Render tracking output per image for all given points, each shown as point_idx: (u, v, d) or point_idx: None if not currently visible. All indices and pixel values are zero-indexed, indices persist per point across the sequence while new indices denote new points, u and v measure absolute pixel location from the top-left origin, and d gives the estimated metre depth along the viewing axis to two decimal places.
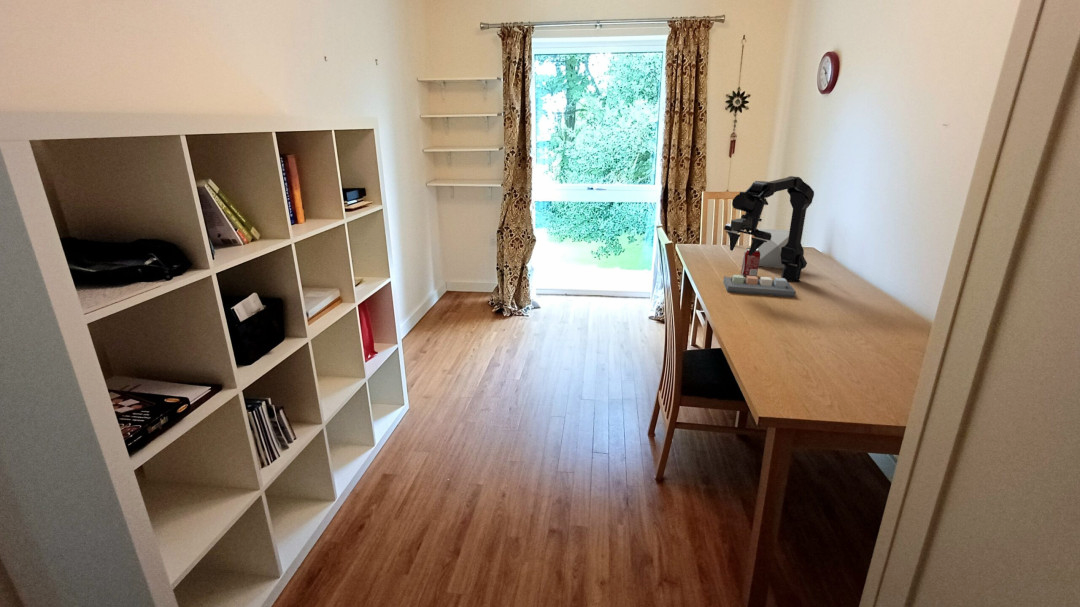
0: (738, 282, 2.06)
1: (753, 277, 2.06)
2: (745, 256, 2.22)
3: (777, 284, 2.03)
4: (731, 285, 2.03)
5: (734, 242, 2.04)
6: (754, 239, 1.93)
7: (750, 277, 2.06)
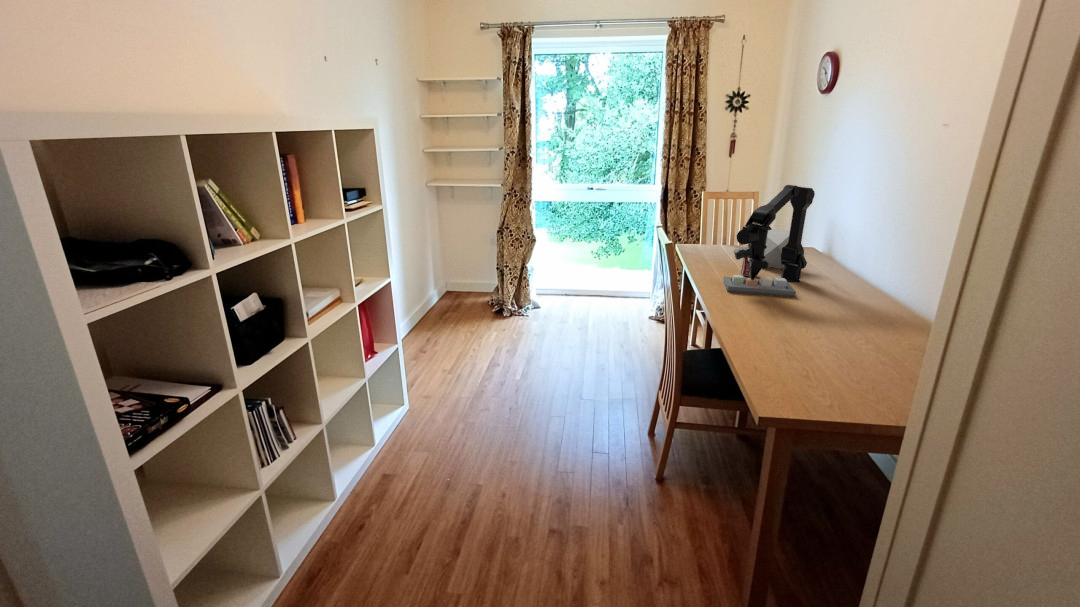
0: (738, 282, 2.06)
1: None
2: None
3: (777, 284, 2.03)
4: (731, 285, 2.03)
5: None
6: None
7: (750, 279, 2.06)
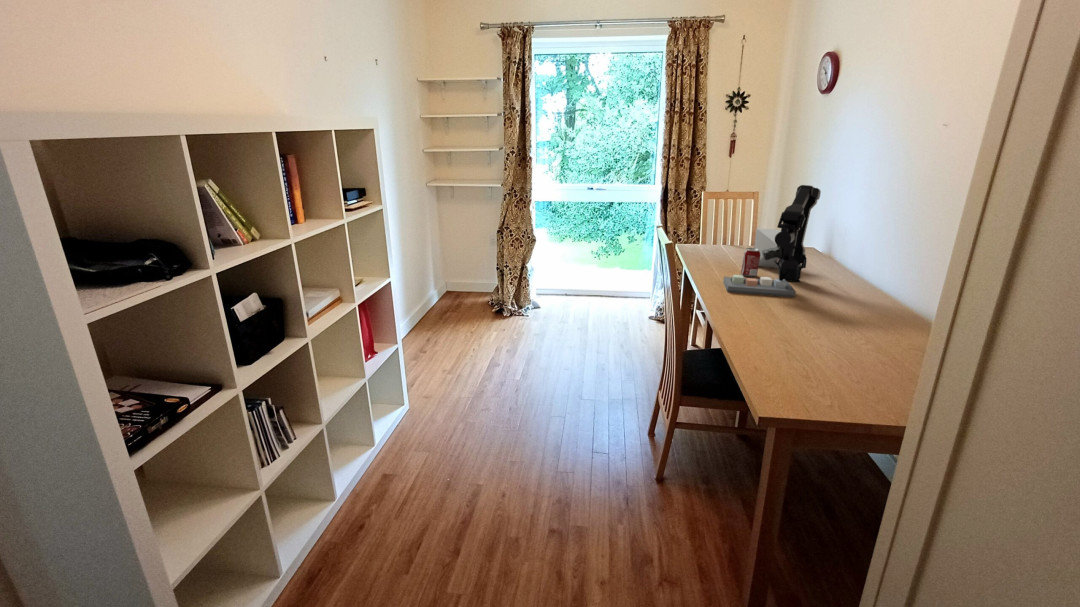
0: (738, 282, 2.06)
1: (753, 279, 2.06)
2: (745, 256, 2.22)
3: (777, 285, 2.03)
4: (731, 285, 2.03)
5: None
6: (777, 265, 2.01)
7: (750, 279, 2.06)
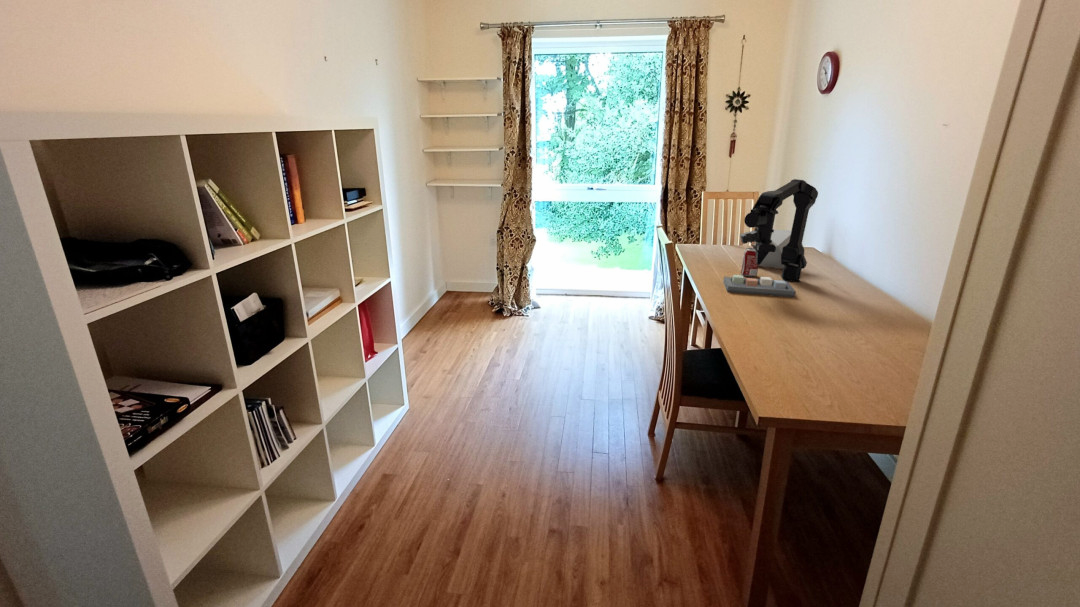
0: (738, 282, 2.06)
1: (753, 279, 2.06)
2: (745, 256, 2.22)
3: (777, 286, 2.04)
4: (731, 285, 2.03)
5: None
6: (755, 249, 2.00)
7: (750, 279, 2.06)
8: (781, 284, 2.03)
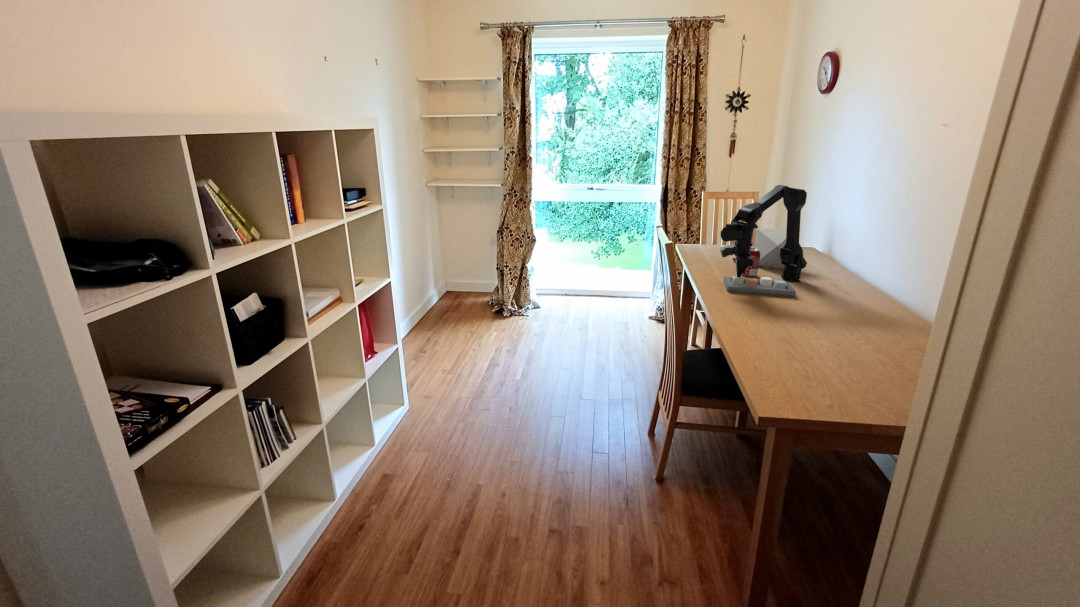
0: (738, 283, 2.06)
1: (753, 279, 2.06)
2: None
3: (777, 286, 2.04)
4: (731, 285, 2.03)
5: None
6: (734, 262, 2.04)
7: (750, 279, 2.06)
8: (781, 284, 2.03)
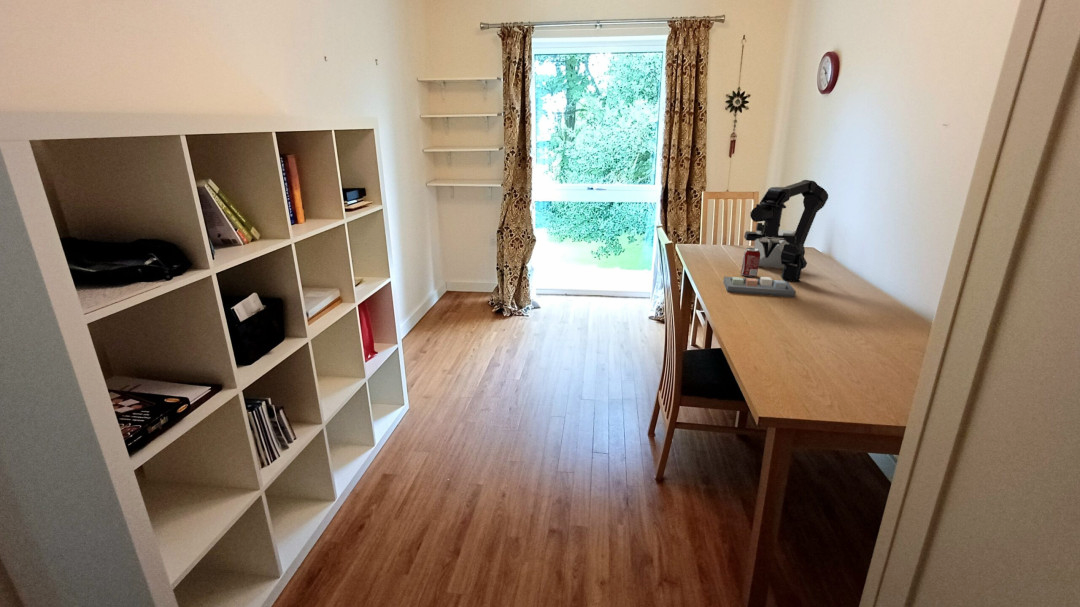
0: (737, 284, 2.07)
1: (753, 279, 2.06)
2: (745, 256, 2.22)
3: (777, 286, 2.04)
4: (731, 285, 2.03)
5: (768, 249, 2.08)
6: None
7: (750, 279, 2.06)
8: (781, 284, 2.03)
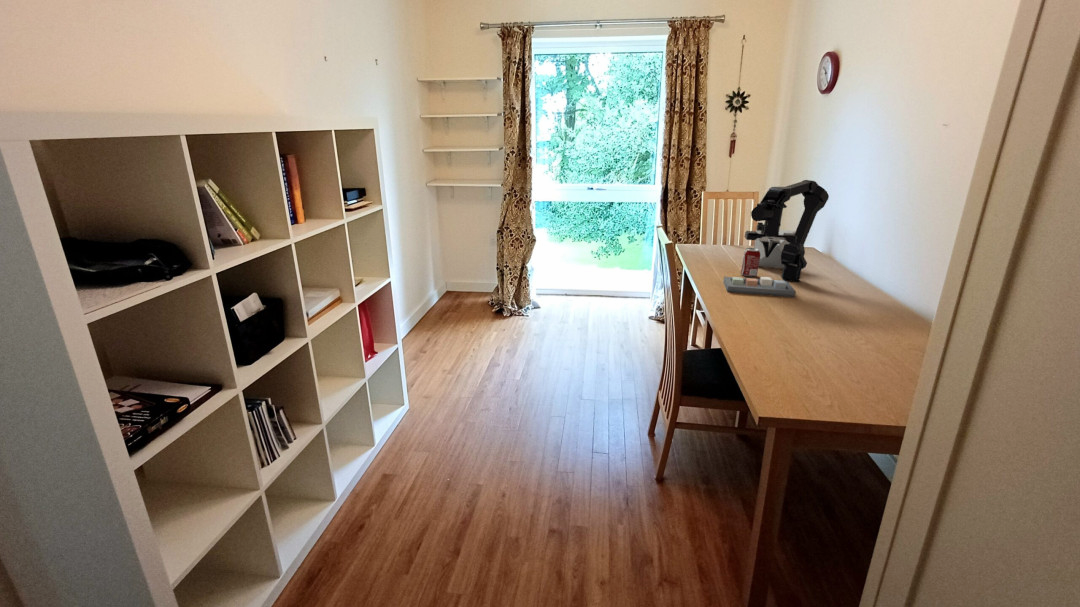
0: (737, 284, 2.07)
1: (753, 279, 2.06)
2: (745, 256, 2.22)
3: (777, 286, 2.04)
4: (731, 285, 2.03)
5: (769, 249, 2.08)
6: None
7: (750, 279, 2.06)
8: (781, 284, 2.03)
